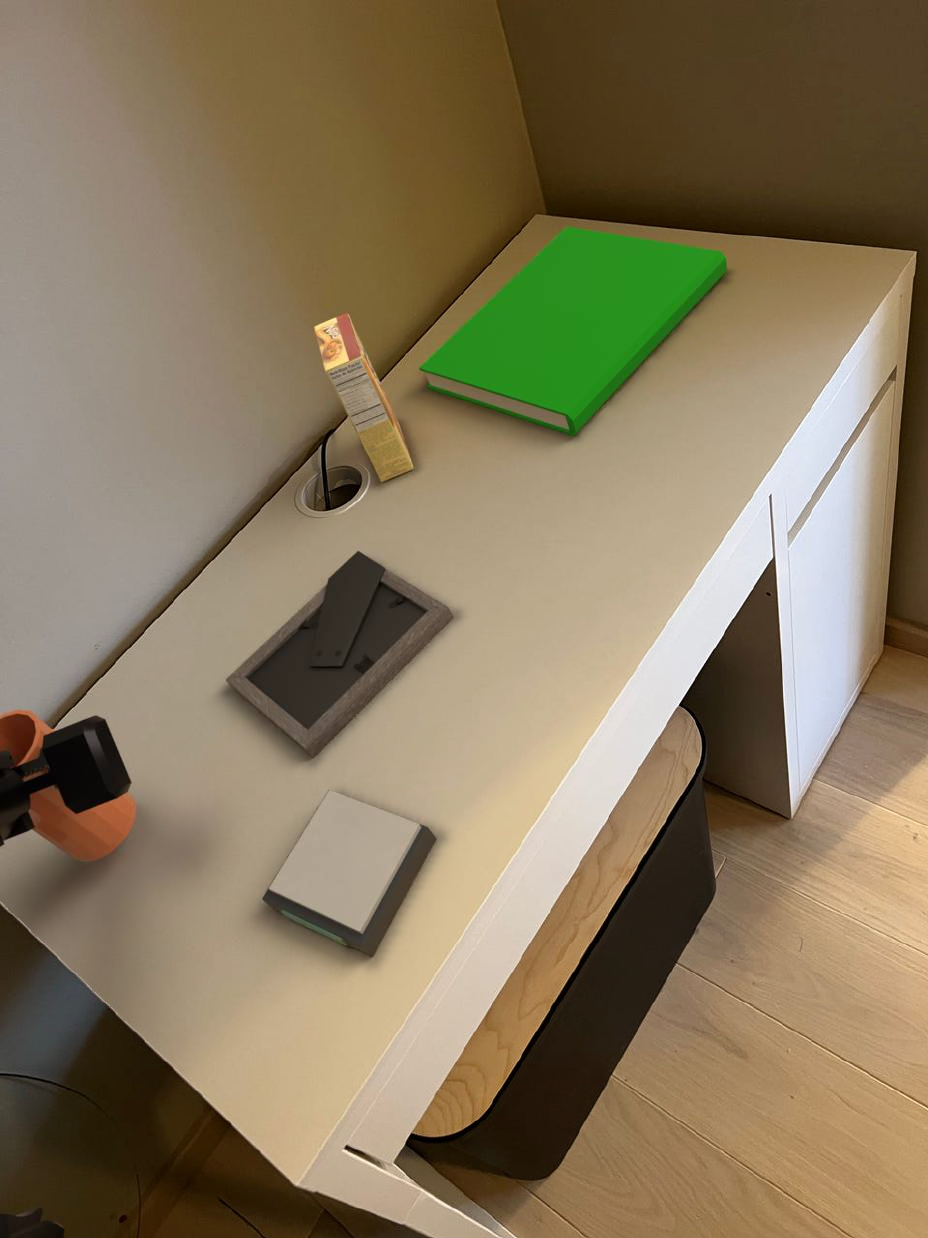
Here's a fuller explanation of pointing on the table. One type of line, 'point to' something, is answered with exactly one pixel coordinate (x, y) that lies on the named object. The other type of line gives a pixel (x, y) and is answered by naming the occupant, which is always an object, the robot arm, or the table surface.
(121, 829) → the cup
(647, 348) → the book
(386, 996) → the table surface
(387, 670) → the picture frame
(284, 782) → the table surface
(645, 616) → the table surface
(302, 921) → the scale
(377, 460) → the candy box
